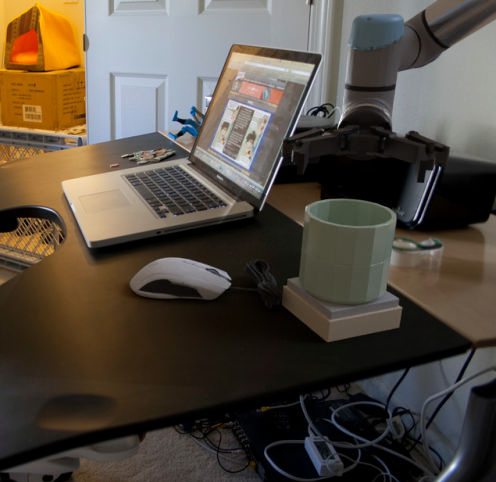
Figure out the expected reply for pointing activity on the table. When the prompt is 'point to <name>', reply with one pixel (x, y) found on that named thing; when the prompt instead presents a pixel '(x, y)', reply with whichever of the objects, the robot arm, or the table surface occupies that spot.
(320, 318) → the scale
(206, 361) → the table surface
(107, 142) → the table surface
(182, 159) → the table surface
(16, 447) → the table surface
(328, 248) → the pale green cup
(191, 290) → the computer mouse
